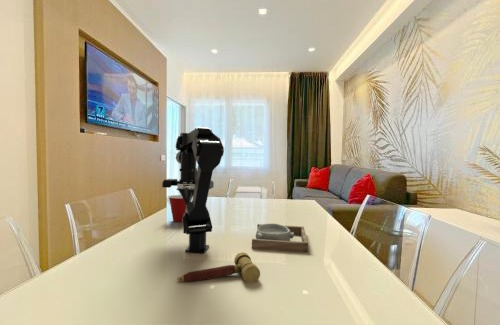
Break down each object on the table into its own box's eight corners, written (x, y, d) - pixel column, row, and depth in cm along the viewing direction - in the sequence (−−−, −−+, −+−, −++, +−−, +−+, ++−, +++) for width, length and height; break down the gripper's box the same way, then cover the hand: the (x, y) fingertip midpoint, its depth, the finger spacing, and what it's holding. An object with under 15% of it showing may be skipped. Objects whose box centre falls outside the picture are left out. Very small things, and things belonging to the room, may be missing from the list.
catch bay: (307, 252, 92) (307, 243, 92) (251, 248, 94) (251, 239, 94) (303, 233, 112) (303, 226, 112) (257, 230, 114) (257, 223, 114)
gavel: (177, 279, 64) (175, 262, 74) (178, 298, 65) (176, 279, 74) (260, 265, 70) (248, 251, 80) (260, 282, 71) (249, 266, 80)
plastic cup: (194, 218, 133) (194, 194, 132) (187, 224, 122) (187, 197, 121) (173, 217, 134) (173, 193, 133) (163, 222, 123) (164, 196, 123)
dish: (258, 248, 95) (258, 234, 95) (251, 235, 108) (251, 223, 108) (297, 246, 97) (298, 233, 97) (285, 234, 111) (286, 222, 111)
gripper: (217, 165, 110) (216, 203, 111) (173, 164, 112) (173, 201, 113) (210, 167, 99) (209, 209, 100) (161, 165, 101) (161, 206, 102)
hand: (187, 206), depth 104 cm, fingers closed
